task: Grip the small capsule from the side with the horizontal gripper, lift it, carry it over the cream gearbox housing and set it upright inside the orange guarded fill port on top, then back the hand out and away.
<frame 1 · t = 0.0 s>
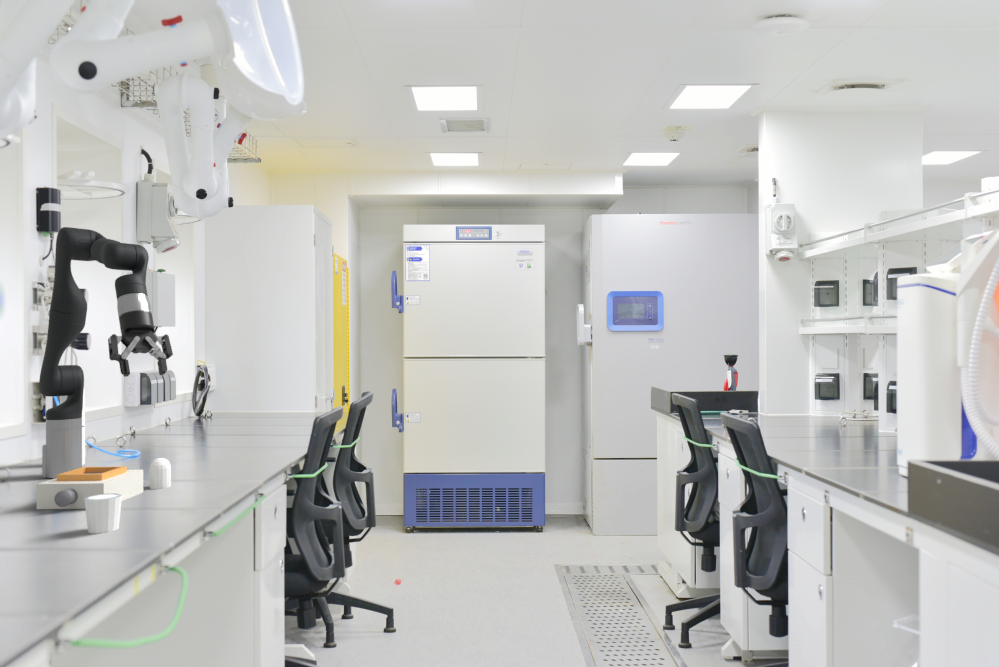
hand: (145, 374, 170), 31 cm above the lab bench, tool tilted 20°, fingers open, 8 cm apart
cylindrical container: (72, 465, 226), on the lab bench
capsule: (160, 487, 188), on the lab bench
shot glass: (103, 530, 144), on the lab bench
gearbox: (92, 500, 172), on the lab bench
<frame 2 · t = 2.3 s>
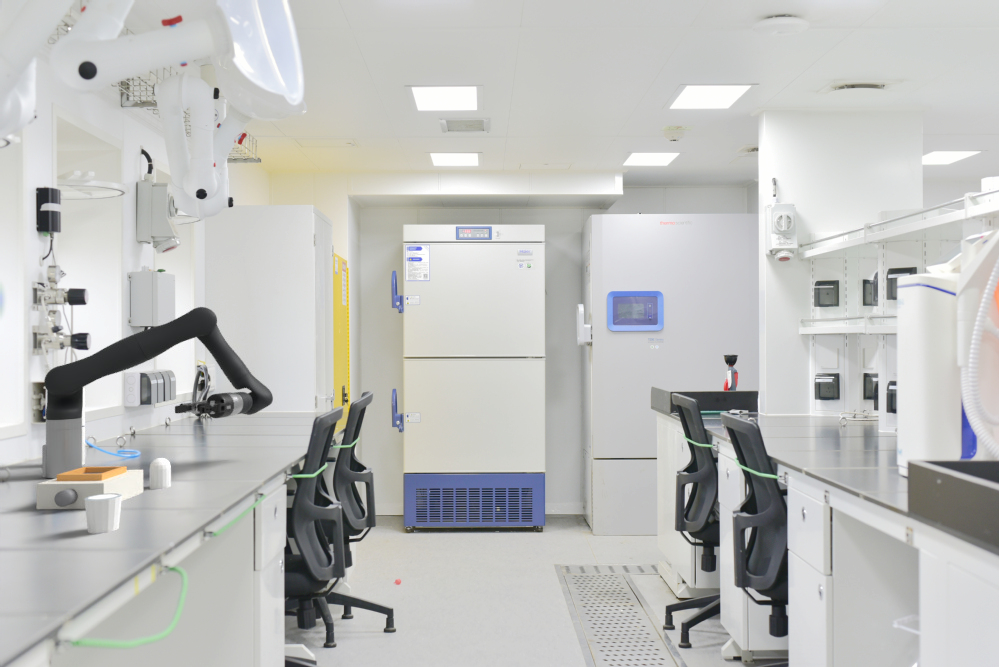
hand: (188, 409, 198), 20 cm above the lab bench, tool horizontal, fingers open, 8 cm apart
nothing on the lab bench moved.
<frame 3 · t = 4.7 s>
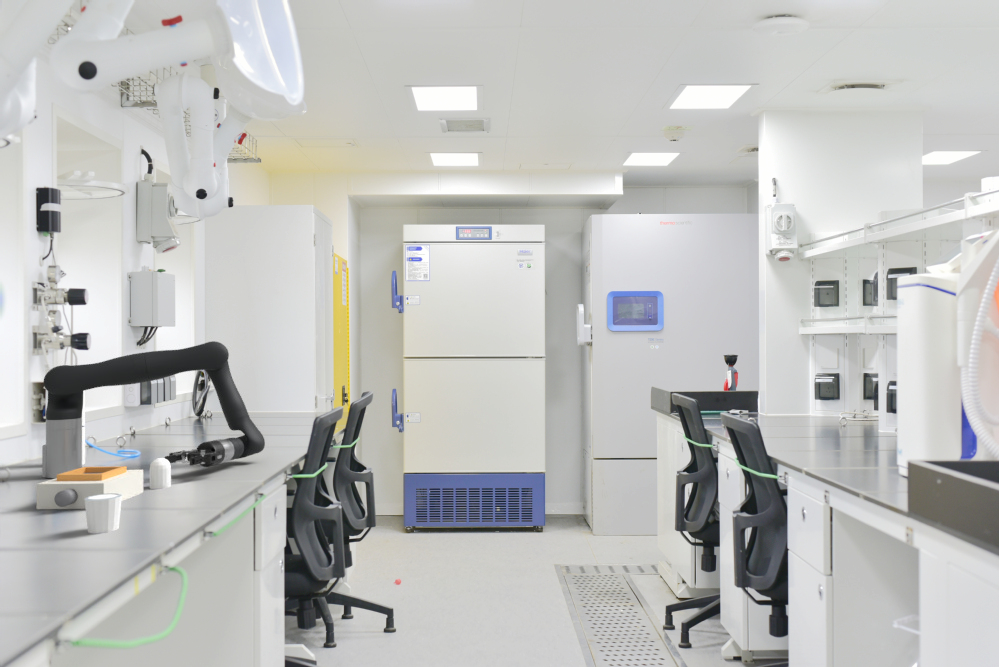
hand: (177, 461, 194), 6 cm above the lab bench, tool horizontal, fingers open, 8 cm apart
nothing on the lab bench moved.
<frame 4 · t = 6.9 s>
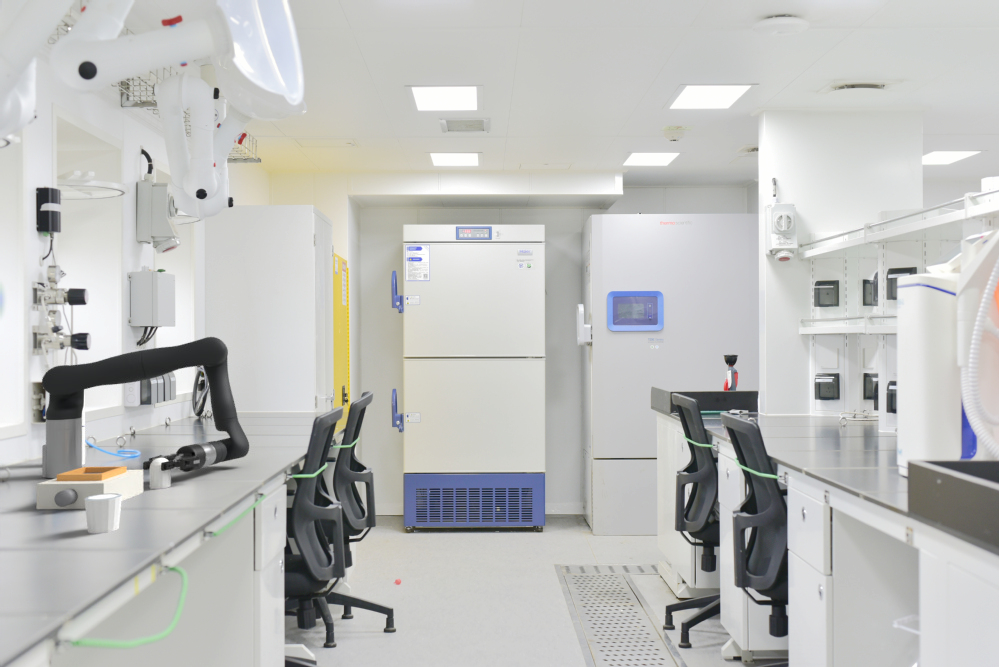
hand: (153, 466, 185), 6 cm above the lab bench, tool horizontal, fingers closed on capsule, 5 cm apart
capsule: (160, 487, 188), on the lab bench, touching gripper
everything else where it was.
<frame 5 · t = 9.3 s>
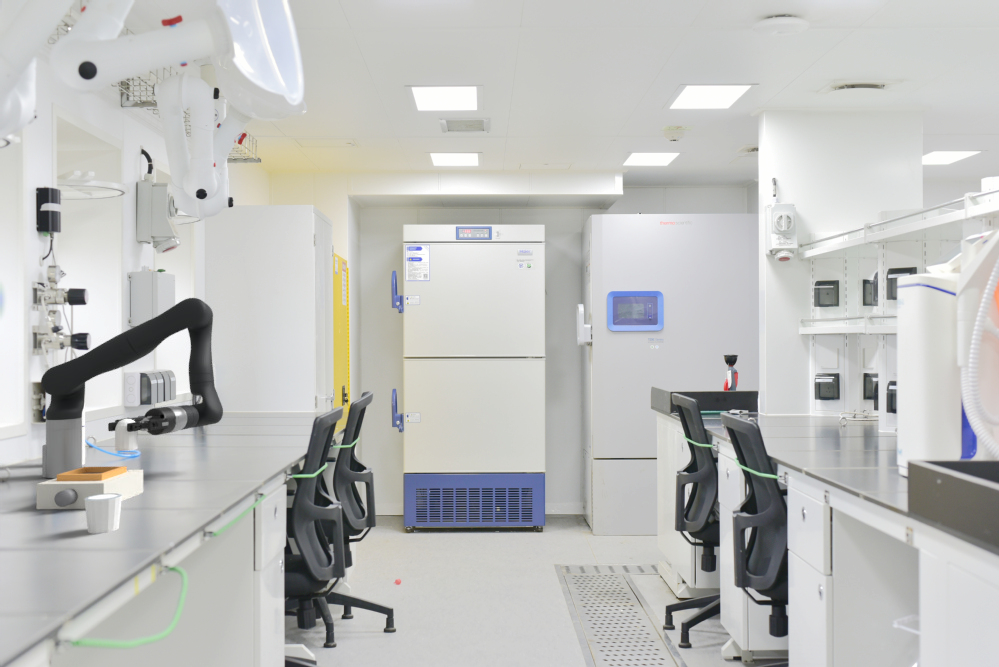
hand: (119, 427, 177), 18 cm above the lab bench, tool horizontal, fingers closed on capsule, 5 cm apart
capsule: (126, 449, 180), point 11 cm above the lab bench, touching gripper
everything else where it was.
when the fingers open (13 cm above the lab bench, at t = 12.0 s): capsule stays where it is, resting on gearbox.
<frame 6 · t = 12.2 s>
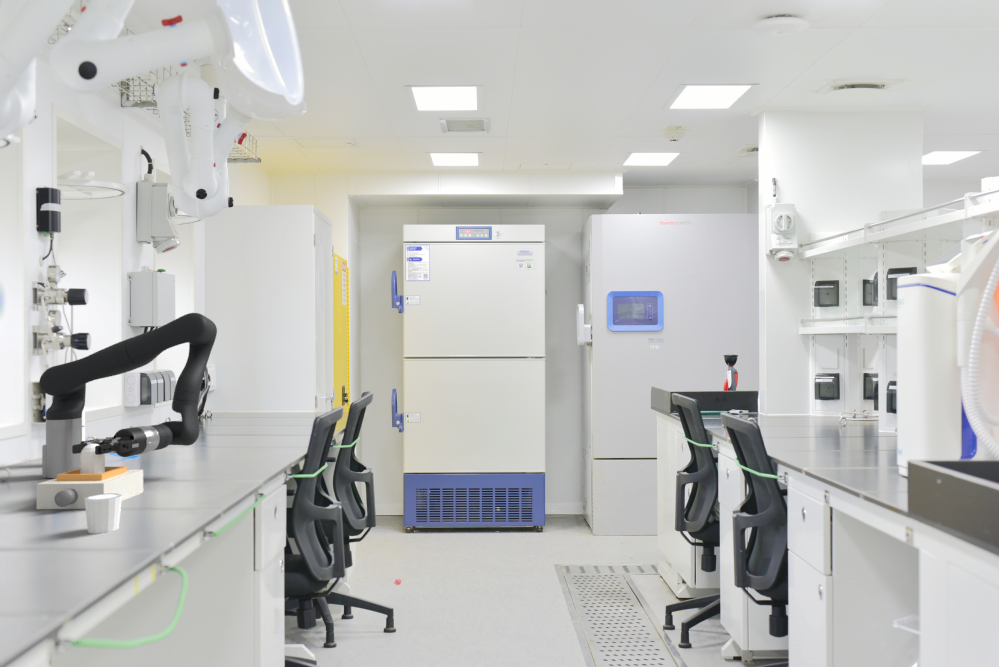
hand: (84, 450, 170), 13 cm above the lab bench, tool horizontal, fingers open, 6 cm apart
capsule: (92, 476, 172), point 6 cm above the lab bench, touching gearbox
everything else where it was.
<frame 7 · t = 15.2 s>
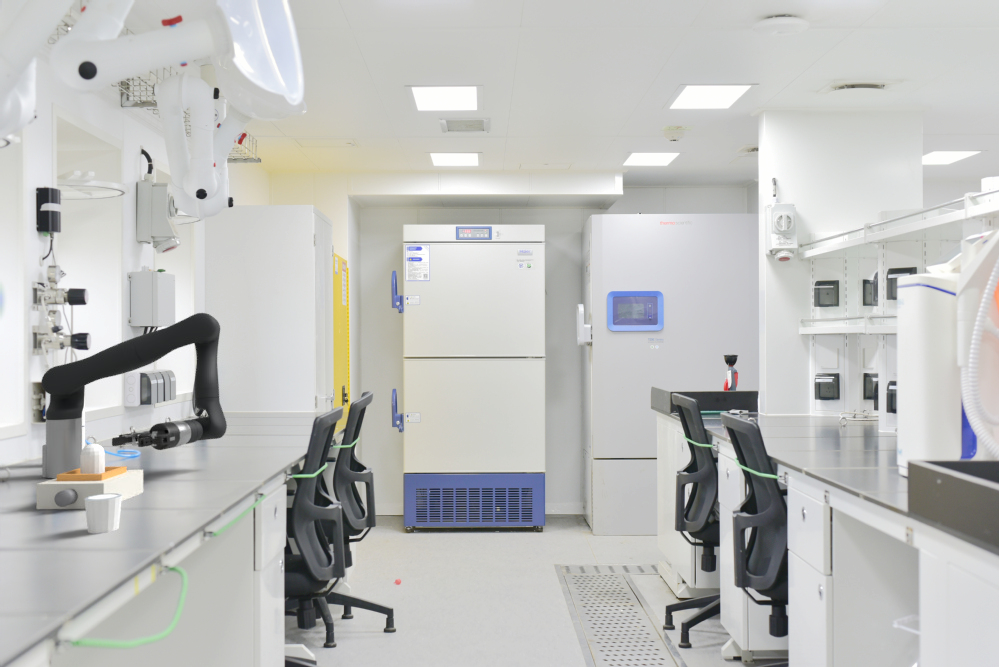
hand: (126, 442, 182), 13 cm above the lab bench, tool horizontal, fingers open, 8 cm apart
nothing on the lab bench moved.
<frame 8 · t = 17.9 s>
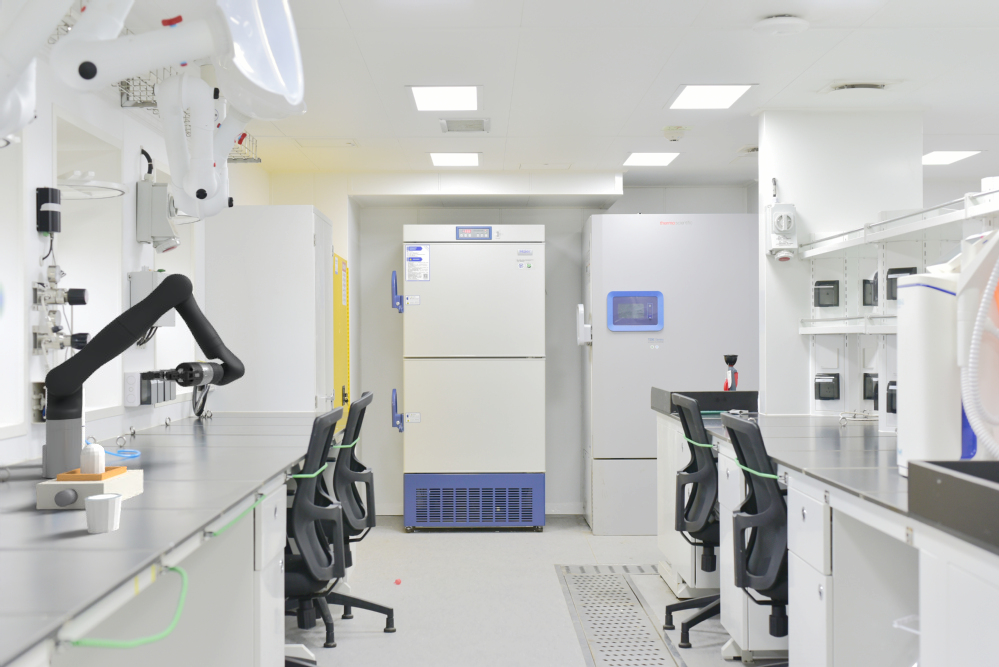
hand: (155, 376, 196), 30 cm above the lab bench, tool horizontal, fingers open, 8 cm apart
nothing on the lab bench moved.
at the end: capsule 0.1 cm off-centre on the gearbox, point 6.0 cm above the gearbox's base; capsule tilted 0°; the gripper is holding nothing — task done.
